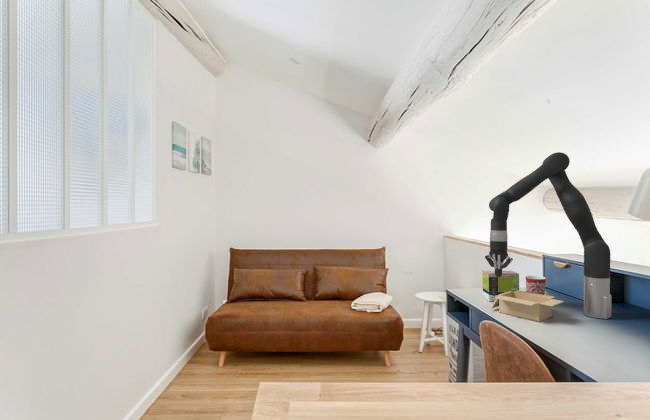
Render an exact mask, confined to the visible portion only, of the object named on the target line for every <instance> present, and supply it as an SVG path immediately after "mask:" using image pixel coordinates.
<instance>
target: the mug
mask: <svg viewBox="0 0 650 420" xmlns="http://www.w3.org/2000/svg"><path fill="white" fill-rule="evenodd" d="M546 281H547V277H545V276H541V275H525V292H531V293H536V294H542V295H546Z"/></svg>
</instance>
